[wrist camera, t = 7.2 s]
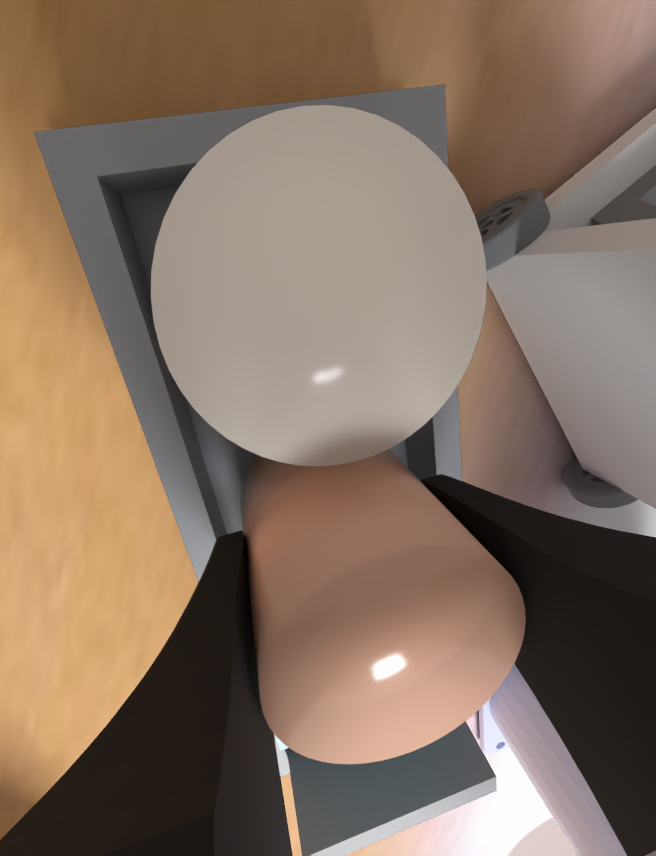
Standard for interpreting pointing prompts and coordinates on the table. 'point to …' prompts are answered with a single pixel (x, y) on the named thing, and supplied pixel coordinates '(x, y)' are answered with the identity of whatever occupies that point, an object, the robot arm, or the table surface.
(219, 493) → the lane
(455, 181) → the jar
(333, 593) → the jar
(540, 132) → the table surface
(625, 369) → the toy car
